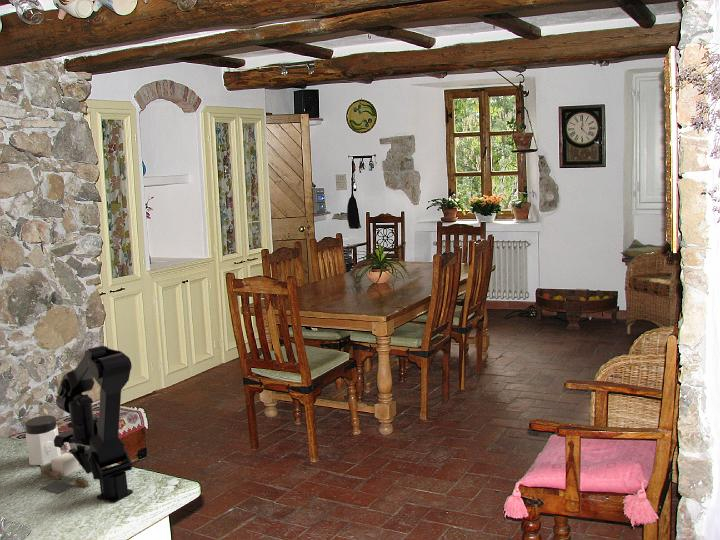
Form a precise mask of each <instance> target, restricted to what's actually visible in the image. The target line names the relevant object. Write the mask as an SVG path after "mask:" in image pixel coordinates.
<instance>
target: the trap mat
mask: <svg viewBox="0 0 720 540" xmlns="http://www.w3.org/2000/svg"><path fill="white" fill-rule="evenodd" d="M74 486H75V485H74V484H73V483H72V484H71V483H68V482H65V481H62V480H56V479H55V480H53V481H52V482H50V483H47V484H46V485H43V486H42V487H40V488H39V489H41V490H44V491H48V492H51V493H53V494H54V493H55V494H56V495H58V494H60V493H63V492H64V491H67V490H69V489H70V488H72V487H74Z"/></svg>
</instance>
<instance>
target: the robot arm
mask: <svg viewBox="0 0 720 540" xmlns="http://www.w3.org/2000/svg"><path fill="white" fill-rule="evenodd" d="M132 365H133V364H132V361H131V359H130V357H129V356H128V355H126V354H125V353H124V352H122V350H121V351H120V350H116V349H112V348H109V347H108V346H106V345H98V346H94V347H90V348H87V349H86V350H85V351H84V356H82V358H81V360H80V361H79V363H78V364H77V366H76V367H75V369H72V370H70V371H68V372H66V373H65V374H63V376H62V378H61V380H60V384H59V388H58V391H57V396H56V399H55V404H56V407H57V408H58V409H60V410H62V411H64V412H65V413H67V414H69V416H70V422H69V423H67V427H68V428H70V429H71V430H70V429H69V430H66V431H63V432H61V433H58V435H57V436H56V437H55V439H54V446H55V447H59V448H60V449H61V448H63V447H64V446H65V443H68V444H69V445H70V449H69V450H68V453H72V455H73V456H74V457H75V458H76V459H77V461H78V462H79V463H80V464H79V466H81V468H82V469H83V470H84V472H85V473H86V474H92V478H93V480H99V488H100V489H99V490H100V494H98V495H96V499H98V500H103V501H105V502H110V503H113V504H114V503H117V502H118V501H120V500H122V499H124V498H125V497H127V496H129V495H131V494H133V492H134V490H133V489H129V488H128V481H127V473H126V472H128V471H132V470H133V462H132V459H131V457H130V455H129V453H128V451H127V449H126V447H125V443H124V442H123V441H122V439H120V436H119V433H120V432H119V431H120V419H121V415H120V414H121V404H122V403H121V402H122V390H123V388H124V387H126V385H127V383H128V382H129V381H130V376H131V370H132ZM95 383H97V384H98V385H99V388H100V390H99V407H98V408H99V409H98V411H99V412H98V417H96V416H94V409H93V403H94V400H93V398H92V397H91V396H90V395H89V394H88V393H87V392H90V391H92V389H93V388H94V386H95ZM83 393H84V394H83ZM120 462H121V463H120ZM115 464H116V465H115ZM107 466H112V467H109V468H106V469H103V470H101V468H104V467H107Z"/></svg>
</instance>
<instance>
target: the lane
mask: <svg viewBox="0 0 720 540" xmlns="http://www.w3.org/2000/svg"><path fill="white" fill-rule="evenodd" d="M68 453H69V454H72V453H70V452H68ZM79 465H80V463H79ZM112 466H113V465H110V466H107V467H104V468H101V470H103V469H106V468H109V467H112ZM40 475H41V476H42V477H46V478H49V479H52V478H53V480H55V481H56V480H58V481H60V480H61V479H62V475H61V473H57V472H54V471H52V465H51V462H50V463H47V464H45V465H43V466H40ZM74 483H75V486H78V487H82V488H88V487H89V486H90V484H89V480H87V479H83V478H80V477H77V478H75V479H74Z"/></svg>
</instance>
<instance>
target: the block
mask: <svg viewBox="0 0 720 540" xmlns="http://www.w3.org/2000/svg"><path fill="white" fill-rule="evenodd" d="M69 453H70V452H65V453H63V454H62V453H61V455H60V456H58V457H56V458H54V459H51V465H52V471H54V472H57V473H61V477H65V476H67V475H69V474H72V473H75V472H77V471H78V470H80V469H81V468H80V464H79V462H78V461H77V459H76V458H75V457H74V456H73V455H72V454H69Z"/></svg>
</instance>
